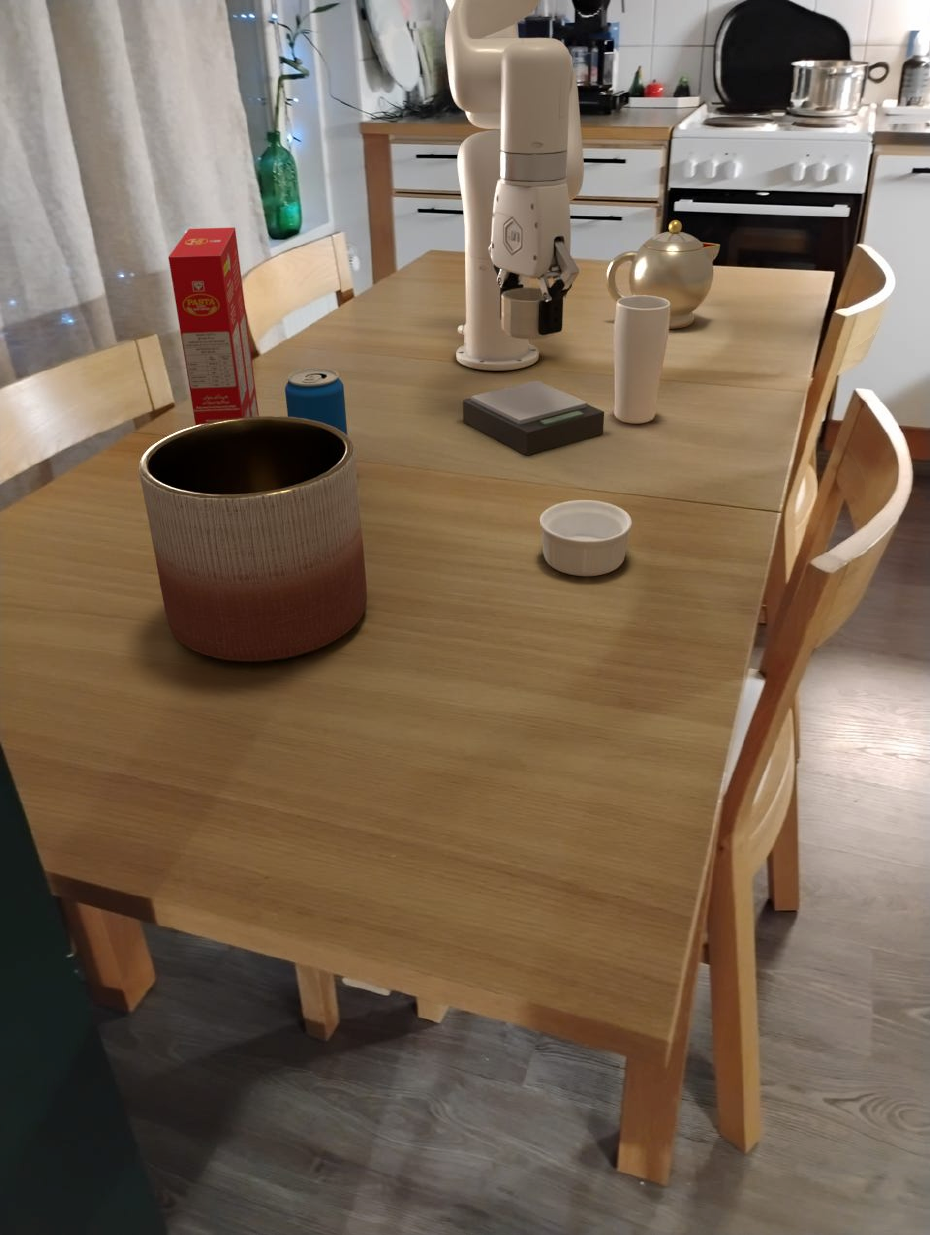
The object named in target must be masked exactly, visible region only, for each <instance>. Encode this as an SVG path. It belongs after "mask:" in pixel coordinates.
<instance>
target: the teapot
mask: <svg viewBox="0 0 930 1235" xmlns="http://www.w3.org/2000/svg"><path fill="white" fill-rule="evenodd" d="M682 227H683V226H682V222H681V221H679V220H678V219H674V220H671V221H670V222H669V224H668V230H669V231H665V232H661V233H658V234H656V235H654V236H652V237H650V238H648V239H647V240H646V241H645V242H644V243H643V244H641V246H640V247H639V248H638V250H632V251H631V250H630V251H625V252H622V253H620V254H618V255H617V256H616V257H614V258H613V259H612V260H611V262H610V263H609V265H608V267H607V270H606V275H605V278H606V279H605V284H606V288H607V291H608V293H609V295H610V297H611V298H612V299H613V301H615V302H617V301H618V300H619V299H620V298H623V297H627V295H624V294H622V293H621V292H620V290H619V288H618V287H617V282H616V274H617V270H618V269H619V267H620V266H621V265H622V264H624V263H627V262H631V263H630V266H629V271H628V285H629V290H630V293H631V296H637V295H644V296H655V297H660V298H664V299H666V300H668V301H669V302H670V304H671V305H670V323H669V330H676V329H684V328H686V327H688V326H690V325H692V324H693V322H694V319H695V316H694V313H693V312H694V311H695V310H697V309H698V308H699V307H700V306H701V305H702V304H703V302H705V300H706V298H707V297H708V295H709V293H710V291H711V289H712V285H713V281H714V264H713V263H714V260H715V259H716V258H717V256H718V254H719V251H720V249H721V248H720V247H721V244H719V243H713V242H704V241H700V240H699V239H698V238H696V237H695V236H693V235H691V234H689V233H686V232H683V231H681V230H682Z"/></svg>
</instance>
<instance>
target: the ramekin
mask: <svg viewBox="0 0 930 1235" xmlns="http://www.w3.org/2000/svg"><path fill="white" fill-rule="evenodd" d="M632 524H633V519H632V518H631V516H630V515H629V513H628V512H627V511H626V510H625V509H623V508H621V507H620V506H617V505H614V504H612V503H610V502H605V501H601V500H592V499H578V500H577V499H576V500H568V501H563V502H559V503H556V504H554V505H551V506H550V507H548V508H546V509H544V510H543V512H542V513H541V514H540V517H539V526H540V529H541V537H542V538H541V539H542V552H543V557H544V559H545V562H546V563H547V564H548V565H549V566H550V567H551V568H552V569H555V570H556V571H558V572H561V573H562V574H567V575H569V576H574V577H575V576H577V577H597V576H602V575H606V574H609V573H611V572H613V571H616V569H618V568H619V567H621V565H622V564H623V562H624V560H625V556H626V550H627V545H628V538H629V534H630V532H631V530H632Z"/></svg>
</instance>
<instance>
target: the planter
mask: <svg viewBox="0 0 930 1235" xmlns="http://www.w3.org/2000/svg"><path fill="white" fill-rule="evenodd" d="M356 463H357V462H356V451H355V446H354V442H353V441H352V439H351V438H350V437H349V436H348V434H347V435H346V434H345V433H343V432H342V431H340V430H339V429H337V428H335V427H333V426H330V425H327V424H325V423H321V422H318V421H313V420H309V419H303V418H295V417H288V416H283V415H282V416H281V415H259V416H254V417H241V418H233V419H226V420H220V421H215V422H210V423H206V424H202V425H198V426H196V425H195V426H192V427H188V428H185V429H182V430H179V431H177V432H174V433H173V434H170V435H168V436H166V437H164V438H162V439H161V440H159V441H158V442H156V443H154V444H152V446H150V447H149V448H148V449H147V450H146V451H145V452H144V453H143V455H142V456H141V458H140V460H139V465H138V472H139V478H140V483H141V488H142V493H143V499H144V504H145V509H146V515H147V520H148V525H149V531H150V536H151V541H152V546H153V552H154V558H155V564H156V569H157V574H158V575H157V576H158V580H159V586H160V591H161V596H162V602H163V605H164V611H165V615H166V619H167V623H168V626H169V629H170V630H171V632H172V634H173V636H174V637H175V639H177V640H178V641H179V642H180V643H181V644H183V645H184V646H185V647H186V648H188V649H190V650H192V651H194V652H196V653H199V654H201V655H203V656H207V657H210V658H214V659H218V660H223V661H228V662H235V663H236V662H238V663H265V662H274V661H281V660H288V659H292V658H296V657H300V656H303V655H306V654H309V653H312V652H315V651H317V650H320V649H322V648H324V647H326V646H328V645H330V644H332V643H334V642H335V641H337V640H338V639H340V638H342V637H343V636H344V635H346V634H347V633H349V631H350V630H352V629H353V628H354V627H355V626H356V625H357V624H358V622H359V621H360V620H361V618H362V616H363V615H364V613H365V610H366V607H367V600H368V589H367V588H368V585H367V572H366V563H365V562H366V561H365V551H364V541H363V532H362V531H363V530H362V520H361V511H360V499H359V490H358V489H359V488H358V475H357V464H356Z"/></svg>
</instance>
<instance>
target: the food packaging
mask: <svg viewBox="0 0 930 1235" xmlns="http://www.w3.org/2000/svg"><path fill="white" fill-rule="evenodd" d="M167 259H168V263H169V264H168V265H169V270H170V276H171V282H172V289H173V296H174V300H175V308H176V313H177V320H178V325H179V333H180V339H181V344H182V352H183V356H184V362H185V369H186V375H187V380H188V381H187V382H188V386H189V387H188V389H189V394H190V400H191V405H192V413H193V420H194V425H195V426H198V425H202V424H206V423H210V422H215V421H220V420H226V419H233V418H241V417H254V416H260V413H259V406H258V397H257V391H256V390H257V389H256V382H255V376H254V367H253V359H252V358H253V357H252V351H251V343H250V335H249V327H248V320H247V319H248V318H247V310H246V303H245V294H244V287H243V278H242V270H241V263H240V256H239V248H238V239H237V232H236V227H208V228H207V227H206V228H188V229H187V231H186V232H185V233H184V235H183V236H182V237H181V239H180V240H179V242H178V243H177V244H176V246H175V247H174V249H173V250H172V251H171V253H170V254H169V256H168V258H167Z"/></svg>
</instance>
